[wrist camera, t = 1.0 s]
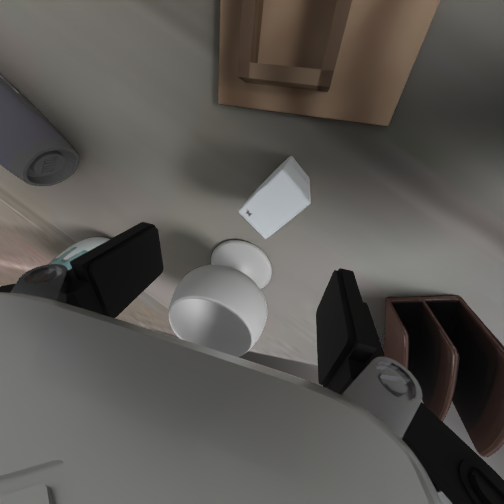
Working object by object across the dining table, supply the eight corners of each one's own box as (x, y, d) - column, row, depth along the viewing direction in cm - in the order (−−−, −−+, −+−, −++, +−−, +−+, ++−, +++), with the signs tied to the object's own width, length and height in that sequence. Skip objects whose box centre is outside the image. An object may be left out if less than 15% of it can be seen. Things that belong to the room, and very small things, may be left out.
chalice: (242, 219, 34) (201, 271, 21) (292, 276, 37) (283, 350, 24) (194, 258, 41) (142, 315, 28) (240, 303, 44) (212, 372, 31)
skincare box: (279, 206, 31) (264, 241, 21) (260, 184, 30) (235, 211, 20) (311, 177, 28) (312, 204, 18) (291, 153, 27) (281, 166, 17)
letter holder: (459, 293, 31) (549, 391, 19) (440, 370, 40) (494, 469, 28) (385, 296, 35) (423, 381, 23) (382, 366, 43) (409, 453, 32)
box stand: (489, -132, 15) (546, -215, 11) (384, 126, 23) (398, 125, 20) (228, -123, 17) (208, -186, 14) (221, 104, 26) (207, 100, 23)
